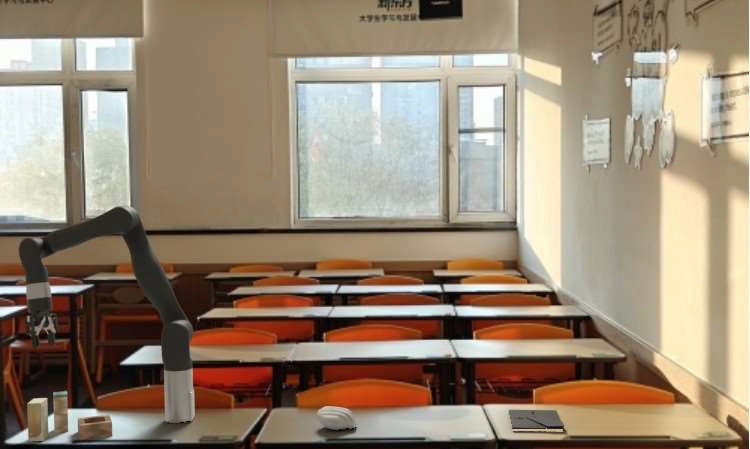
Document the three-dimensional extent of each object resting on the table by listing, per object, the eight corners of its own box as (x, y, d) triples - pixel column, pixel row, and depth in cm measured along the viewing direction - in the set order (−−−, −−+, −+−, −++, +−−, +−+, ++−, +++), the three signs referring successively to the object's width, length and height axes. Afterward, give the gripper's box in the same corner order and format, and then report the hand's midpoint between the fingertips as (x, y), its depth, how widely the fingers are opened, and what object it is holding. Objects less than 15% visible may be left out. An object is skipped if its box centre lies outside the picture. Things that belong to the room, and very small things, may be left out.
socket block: (109, 428, 258) (108, 414, 258) (112, 435, 249) (112, 421, 249) (78, 431, 254) (77, 418, 254) (80, 440, 245) (79, 425, 245)
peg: (67, 428, 259) (66, 391, 258) (68, 431, 255) (67, 393, 254) (54, 429, 257) (53, 392, 256) (54, 433, 253) (53, 395, 253)
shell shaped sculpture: (308, 429, 253) (307, 409, 253) (336, 420, 263) (336, 401, 262) (336, 437, 245) (336, 416, 244) (365, 428, 254) (364, 407, 254)
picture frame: (564, 434, 246) (556, 416, 266) (564, 425, 246) (556, 408, 266) (512, 434, 247) (508, 415, 268) (512, 424, 247) (508, 407, 268)
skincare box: (34, 436, 250) (33, 397, 249) (49, 436, 250) (48, 397, 250) (27, 442, 243) (26, 403, 243) (42, 442, 244) (41, 402, 243)
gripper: (36, 296, 256) (41, 346, 255) (61, 295, 270) (67, 343, 269) (15, 299, 258) (20, 349, 256) (42, 298, 272) (47, 346, 270)
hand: (44, 346), depth 262 cm, fingers open, 8 cm apart
